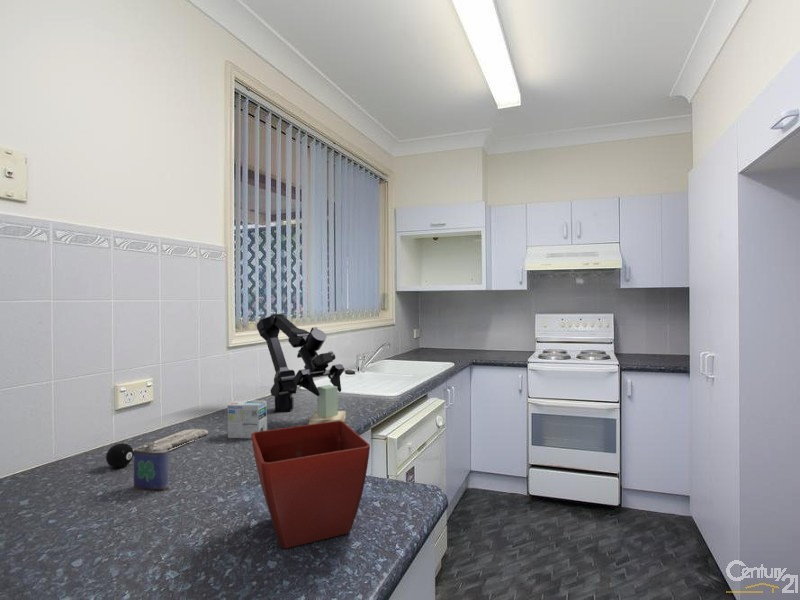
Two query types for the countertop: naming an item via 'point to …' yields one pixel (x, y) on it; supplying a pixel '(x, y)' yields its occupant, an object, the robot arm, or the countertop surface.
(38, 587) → the countertop surface
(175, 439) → the newspaper
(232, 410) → the light bulb box
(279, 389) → the robot arm
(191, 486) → the countertop surface
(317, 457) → the plant pot
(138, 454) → the flask
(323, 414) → the tall block
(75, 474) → the countertop surface
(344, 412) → the slab
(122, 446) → the billiard ball
